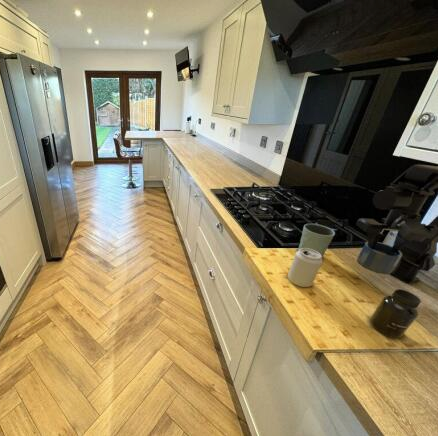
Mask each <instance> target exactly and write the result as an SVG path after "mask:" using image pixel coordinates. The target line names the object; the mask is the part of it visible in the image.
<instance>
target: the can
mask: <svg viewBox="0 0 438 436" xmlns="http://www.w3.org/2000/svg"><path fill="white" fill-rule="evenodd" d="M321 257H322V255H321V254H320V253H319V252H317V251H315V250H313V249H309V248H301V249H300V250H299V251H298V250H297V251H296V252H295V255H294V256H293V260H292V262H291V265H290V268H289V270H288V273H287V278H288V280H289V281H290V282H291V283H292V284H293V285H295V286H298V287H300V288H309V287H311V286H313V284H314V282H315V279H316V277H317V275H318V272H319V270H320V268H321V266H322V264H323V257H322V259H321Z"/></svg>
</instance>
